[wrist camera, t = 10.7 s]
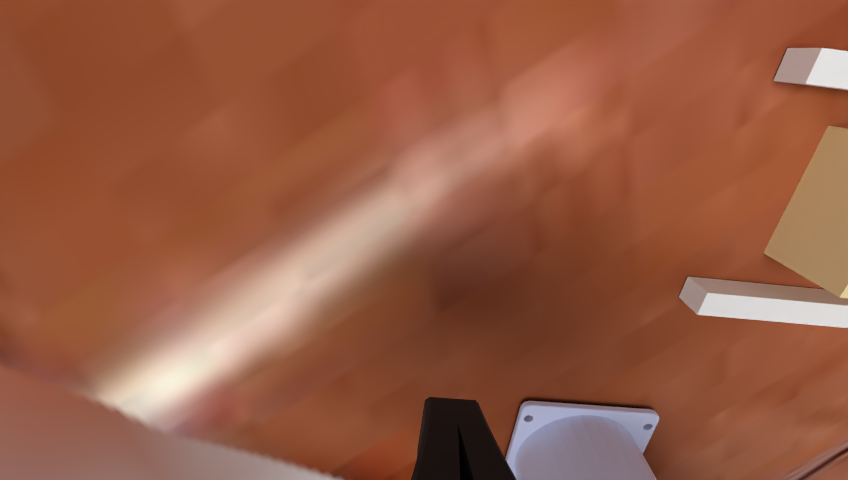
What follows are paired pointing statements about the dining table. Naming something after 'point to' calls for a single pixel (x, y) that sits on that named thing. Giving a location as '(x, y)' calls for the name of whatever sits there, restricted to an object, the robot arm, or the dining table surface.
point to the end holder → (767, 298)
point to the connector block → (818, 218)
